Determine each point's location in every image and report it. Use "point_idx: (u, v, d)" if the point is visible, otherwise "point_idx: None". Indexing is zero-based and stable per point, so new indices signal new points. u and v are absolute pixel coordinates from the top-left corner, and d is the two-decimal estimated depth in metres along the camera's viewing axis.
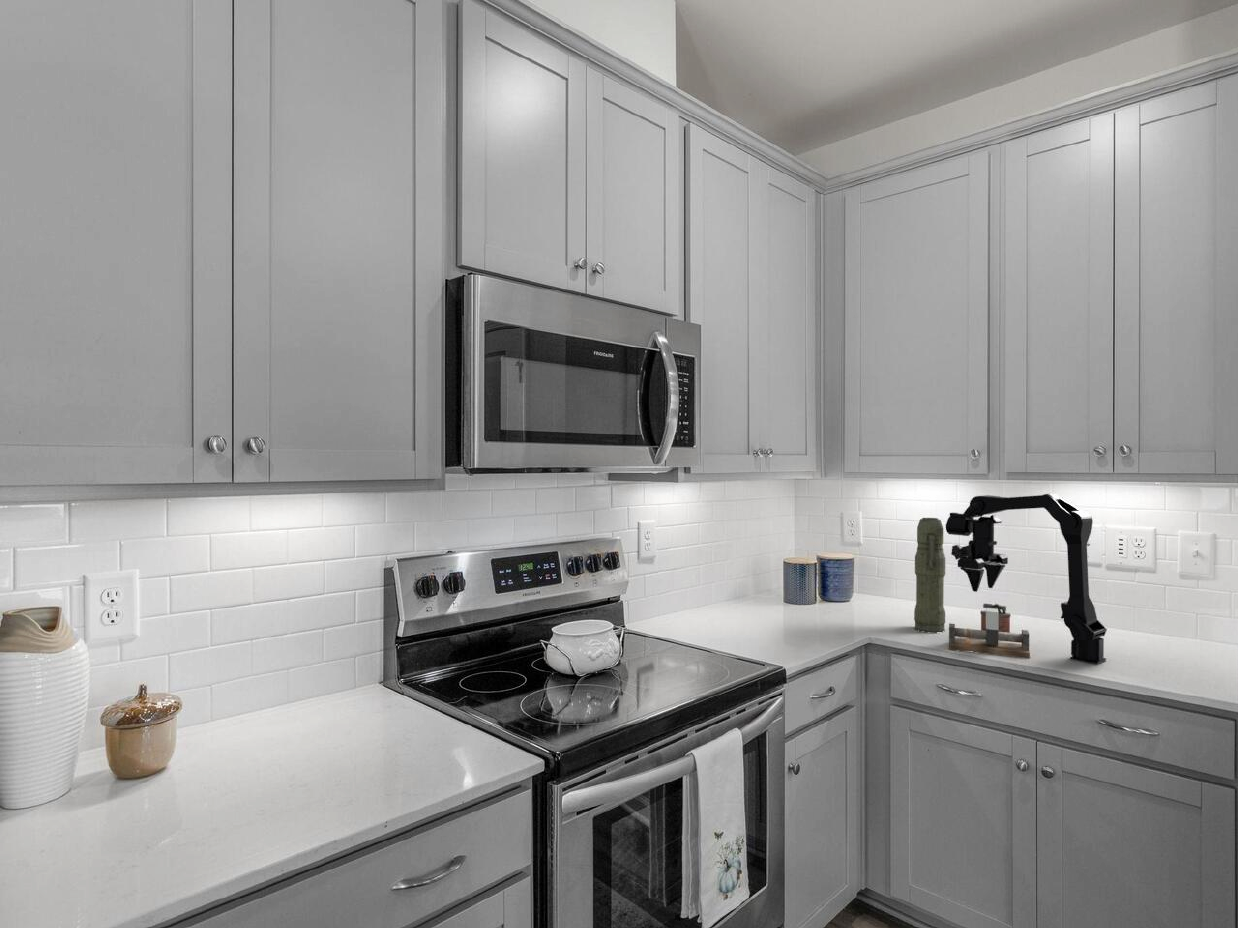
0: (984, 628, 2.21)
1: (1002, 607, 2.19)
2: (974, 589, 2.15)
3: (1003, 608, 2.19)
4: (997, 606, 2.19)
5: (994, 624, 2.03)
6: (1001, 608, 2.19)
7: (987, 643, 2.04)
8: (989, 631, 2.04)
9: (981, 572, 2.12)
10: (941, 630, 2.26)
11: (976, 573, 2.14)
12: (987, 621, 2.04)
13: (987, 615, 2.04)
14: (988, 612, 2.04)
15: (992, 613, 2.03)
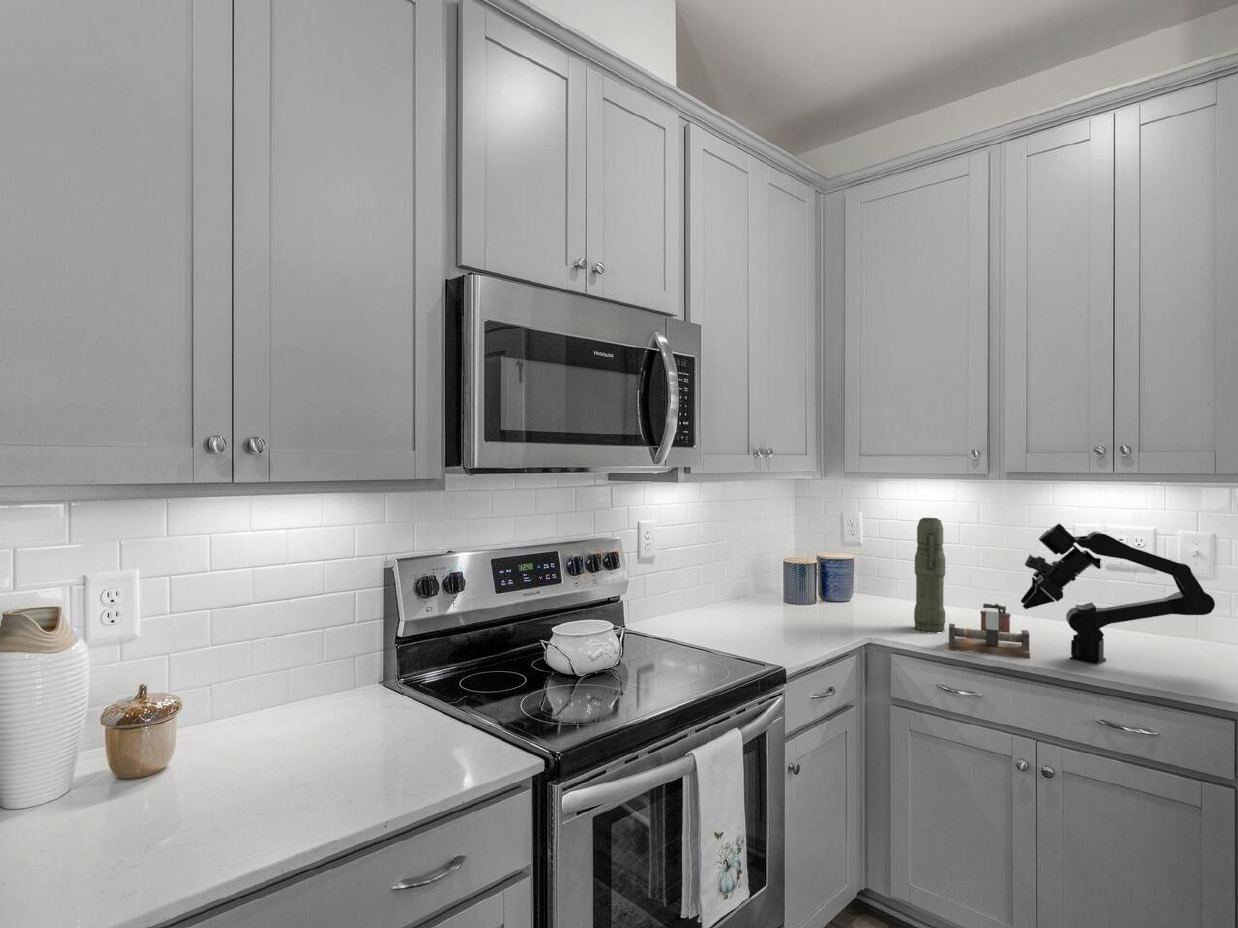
0: (984, 628, 2.21)
1: (1002, 607, 2.19)
2: (1026, 606, 1.98)
3: (1003, 608, 2.19)
4: (997, 606, 2.19)
5: (994, 624, 2.03)
6: (1001, 608, 2.19)
7: (987, 643, 2.04)
8: (989, 631, 2.04)
9: None
10: (941, 630, 2.26)
11: (1044, 598, 1.95)
12: (987, 621, 2.04)
13: (987, 615, 2.04)
14: (988, 612, 2.04)
15: (992, 613, 2.03)
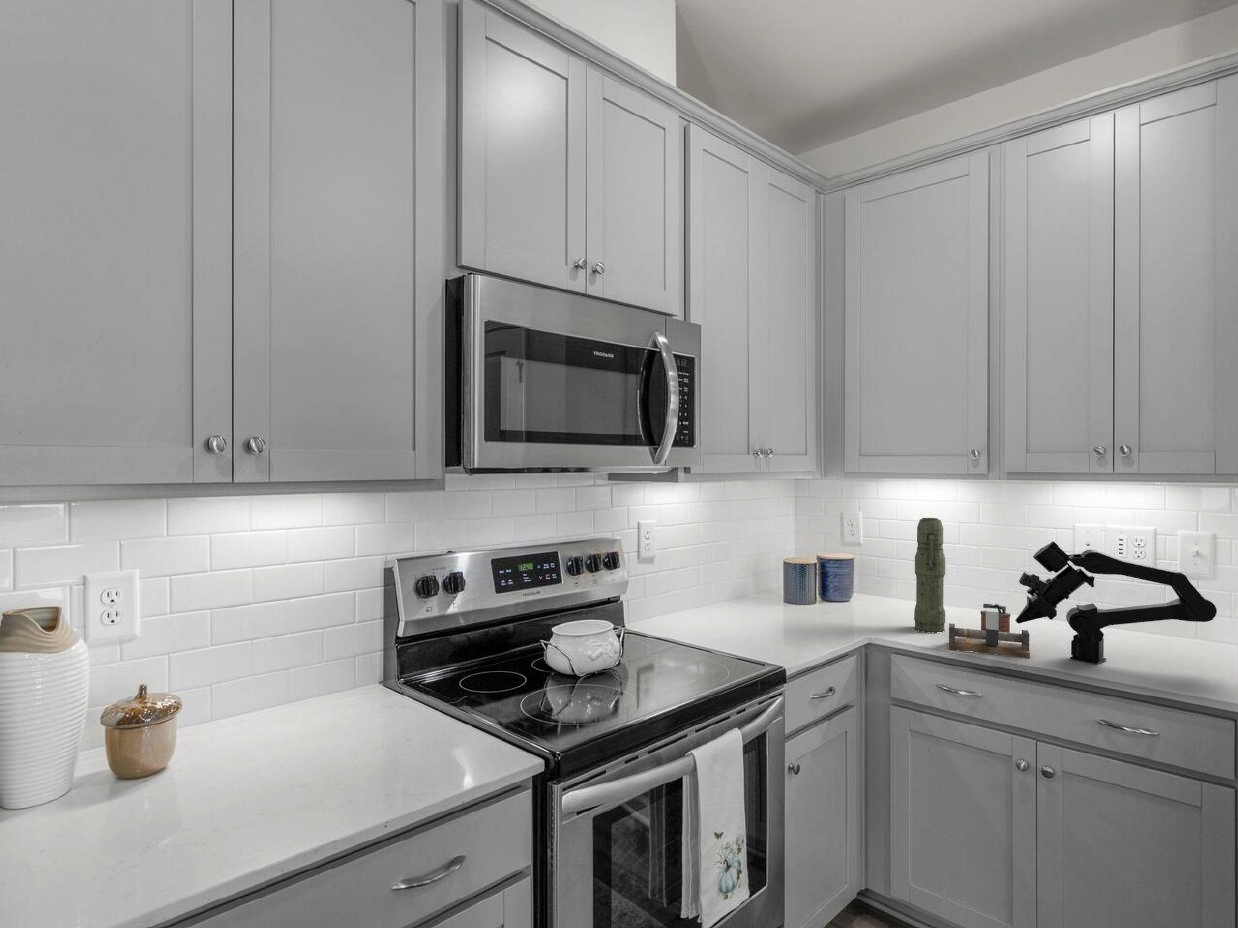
0: (984, 628, 2.21)
1: (1002, 607, 2.19)
2: (1018, 621, 2.02)
3: (1003, 608, 2.19)
4: (997, 606, 2.19)
5: (994, 624, 2.03)
6: (1001, 608, 2.19)
7: (987, 643, 2.04)
8: (989, 631, 2.04)
9: None
10: (941, 630, 2.26)
11: (1037, 613, 1.99)
12: (987, 621, 2.04)
13: (987, 615, 2.04)
14: (988, 612, 2.04)
15: (992, 613, 2.03)
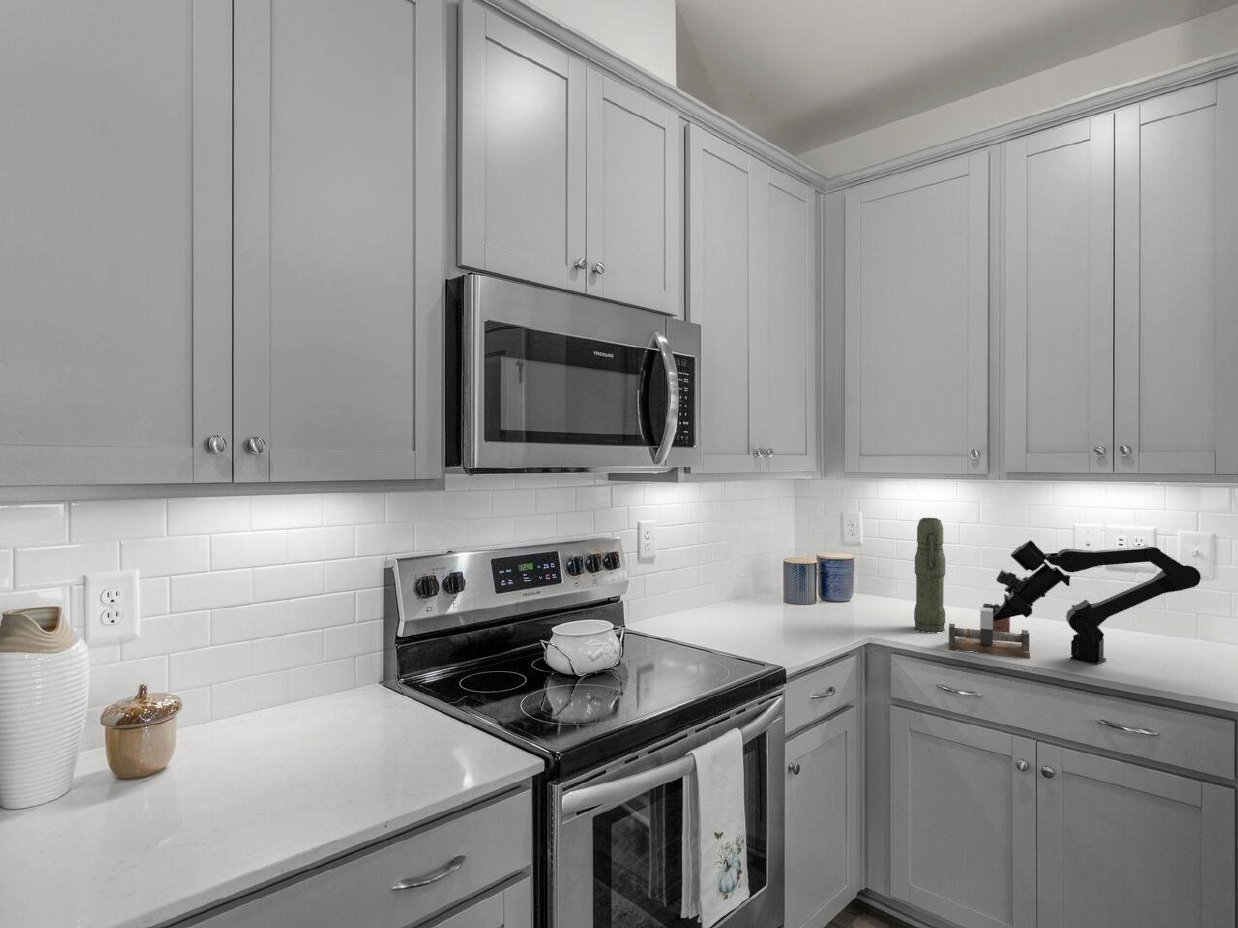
0: None
1: None
2: (995, 618, 2.05)
3: None
4: (997, 606, 2.19)
5: (989, 623, 2.04)
6: None
7: (981, 642, 2.05)
8: (983, 630, 2.04)
9: None
10: (941, 630, 2.26)
11: (1013, 611, 2.02)
12: (981, 621, 2.04)
13: (981, 615, 2.04)
14: (982, 612, 2.04)
15: (986, 613, 2.04)
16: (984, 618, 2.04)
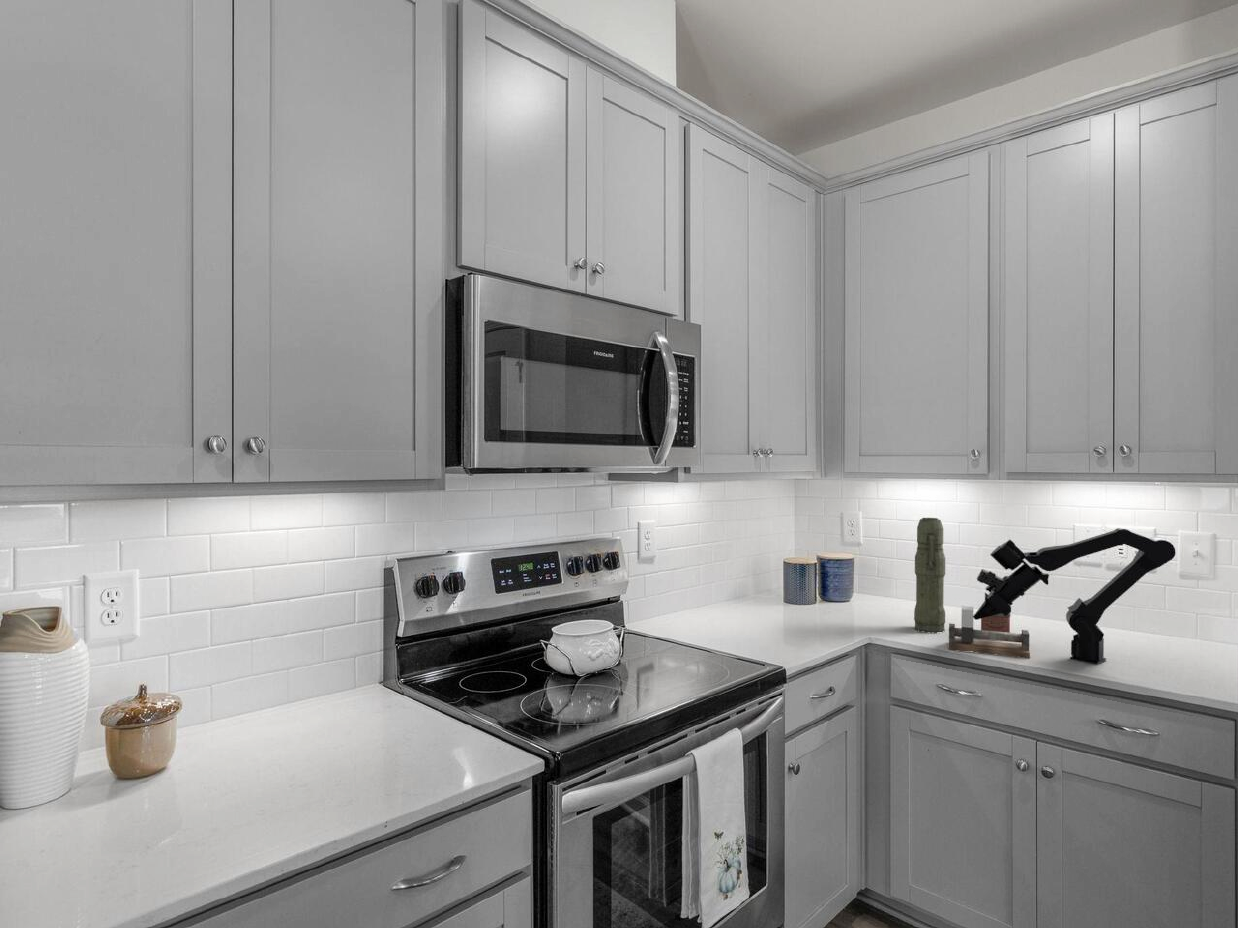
0: (984, 628, 2.21)
1: None
2: (976, 617, 2.07)
3: None
4: None
5: (969, 622, 2.06)
6: None
7: (962, 641, 2.07)
8: (964, 629, 2.07)
9: None
10: (941, 630, 2.26)
11: (993, 609, 2.04)
12: (962, 619, 2.06)
13: (962, 613, 2.06)
14: (963, 610, 2.06)
15: (967, 611, 2.06)
16: (965, 616, 2.06)
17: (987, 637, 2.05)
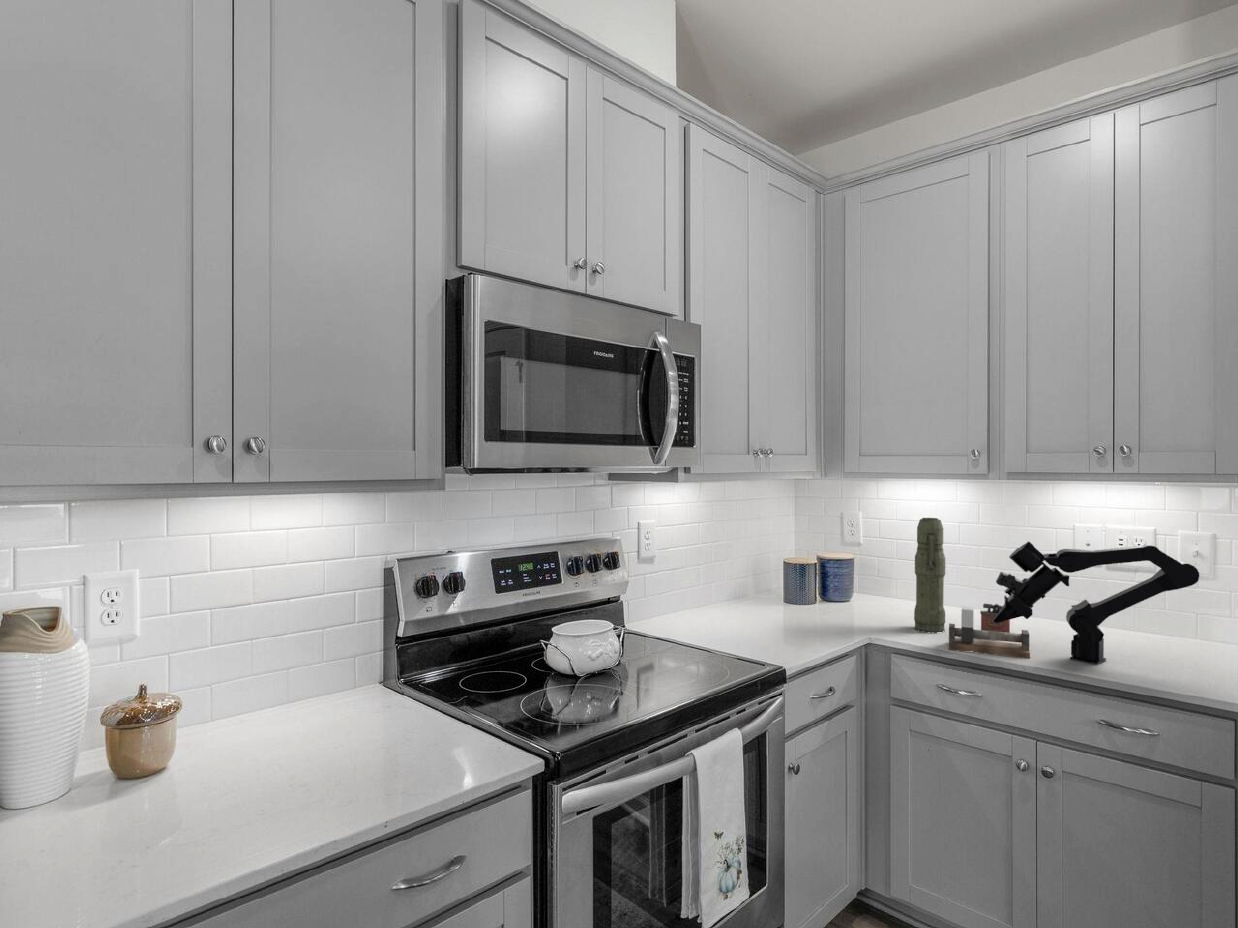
0: (984, 628, 2.21)
1: None
2: (996, 620, 2.05)
3: None
4: (997, 606, 2.19)
5: (969, 622, 2.06)
6: None
7: (962, 641, 2.07)
8: (964, 629, 2.07)
9: None
10: (941, 630, 2.26)
11: (1014, 612, 2.02)
12: (962, 619, 2.06)
13: (962, 613, 2.06)
14: (963, 610, 2.06)
15: (967, 611, 2.06)
16: (965, 616, 2.06)
17: (987, 637, 2.05)
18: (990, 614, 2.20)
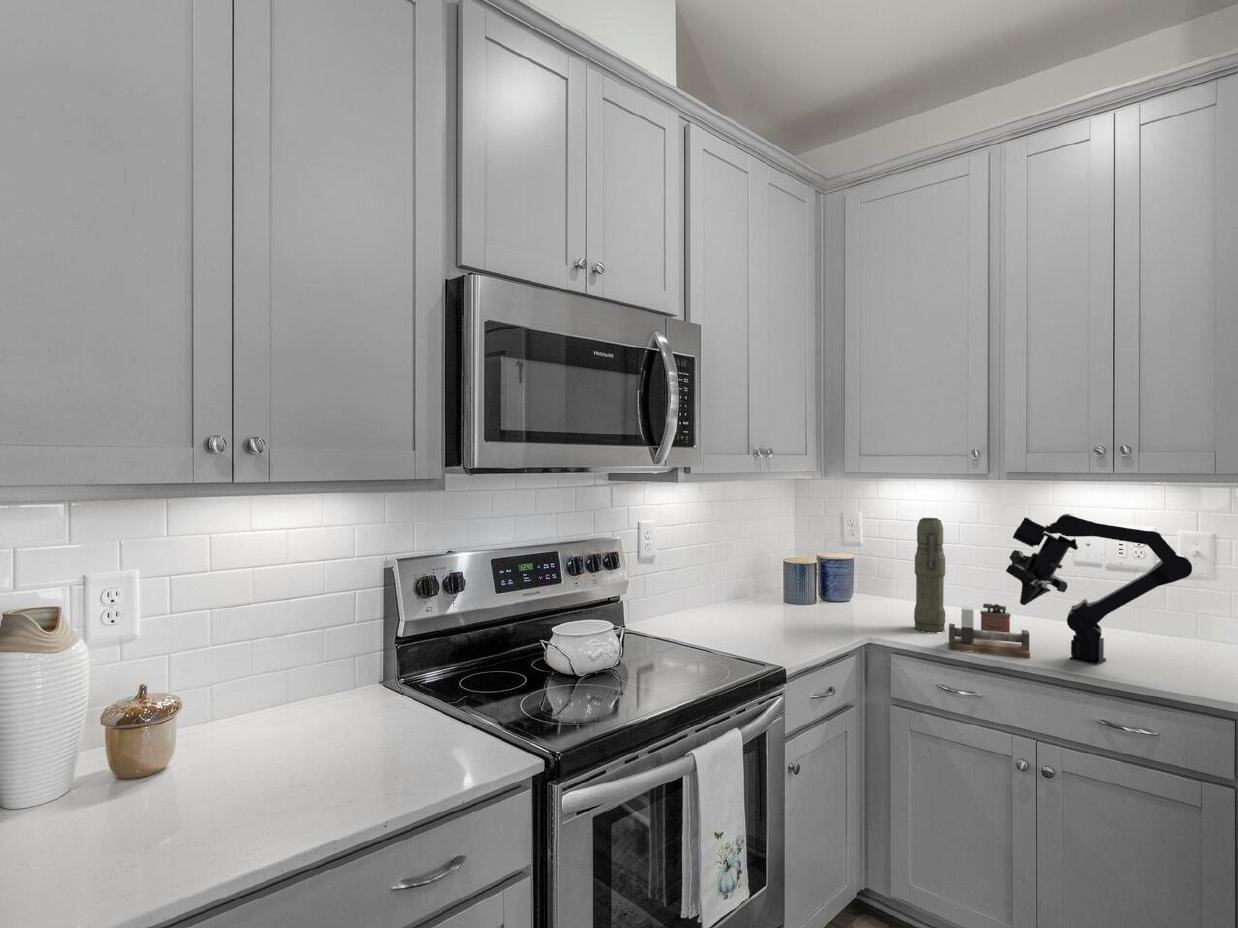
0: (984, 628, 2.21)
1: (1002, 607, 2.19)
2: (1021, 602, 2.04)
3: (1003, 608, 2.19)
4: (997, 606, 2.19)
5: (969, 622, 2.06)
6: (1001, 608, 2.19)
7: (962, 641, 2.07)
8: (964, 629, 2.07)
9: (1036, 589, 2.00)
10: (941, 630, 2.26)
11: (1031, 588, 2.01)
12: (962, 619, 2.06)
13: (962, 613, 2.06)
14: (963, 610, 2.06)
15: (967, 611, 2.06)
16: (965, 616, 2.06)
17: (987, 637, 2.05)
18: (990, 614, 2.20)
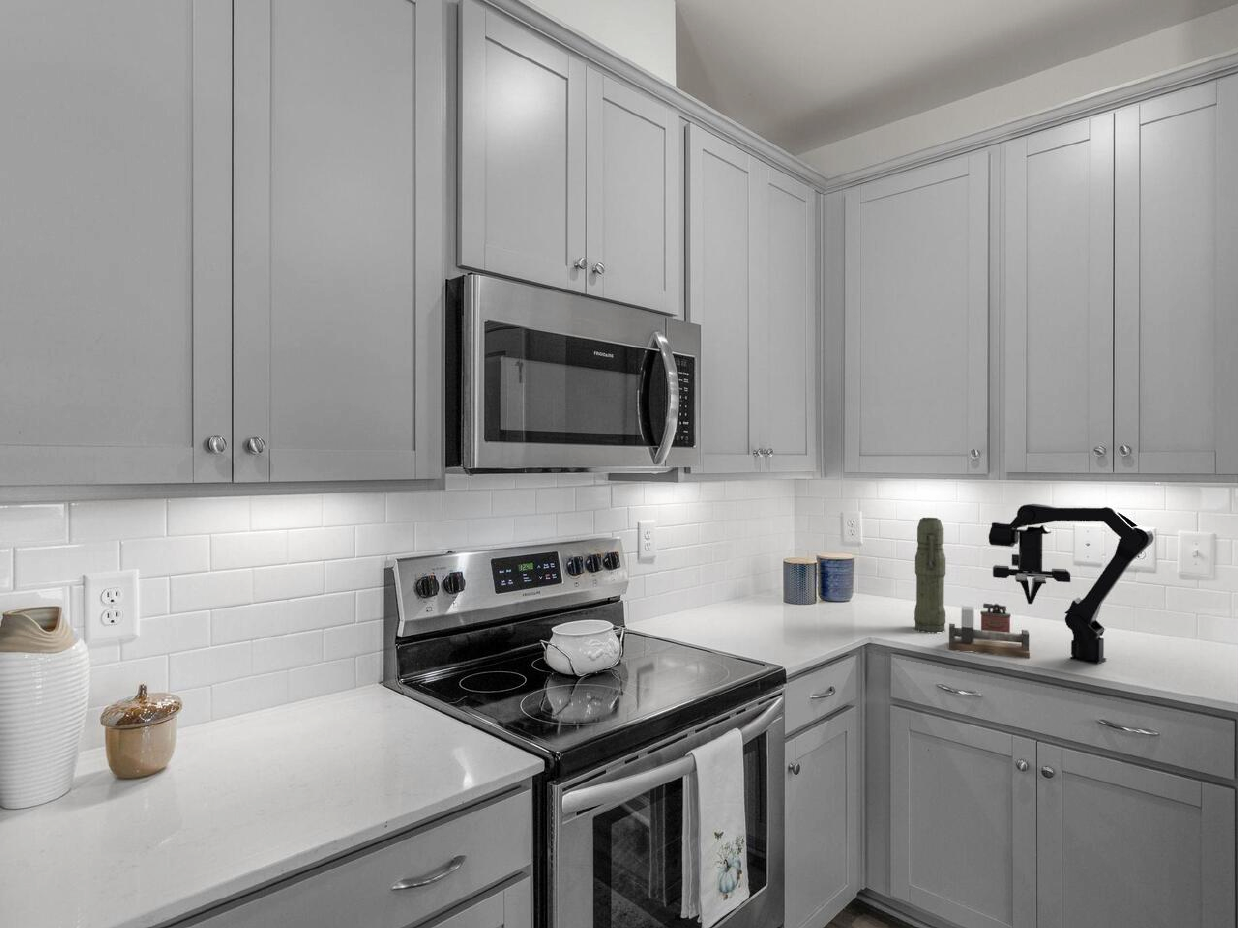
0: (984, 628, 2.21)
1: (1002, 607, 2.19)
2: None
3: (1003, 608, 2.19)
4: (997, 606, 2.19)
5: (969, 622, 2.06)
6: (1001, 608, 2.19)
7: (962, 641, 2.07)
8: (964, 629, 2.07)
9: (1023, 583, 2.04)
10: (941, 630, 2.26)
11: None
12: (962, 619, 2.06)
13: (962, 613, 2.06)
14: (963, 610, 2.06)
15: (967, 611, 2.06)
16: (965, 616, 2.06)
17: (987, 637, 2.05)
18: (990, 614, 2.20)
